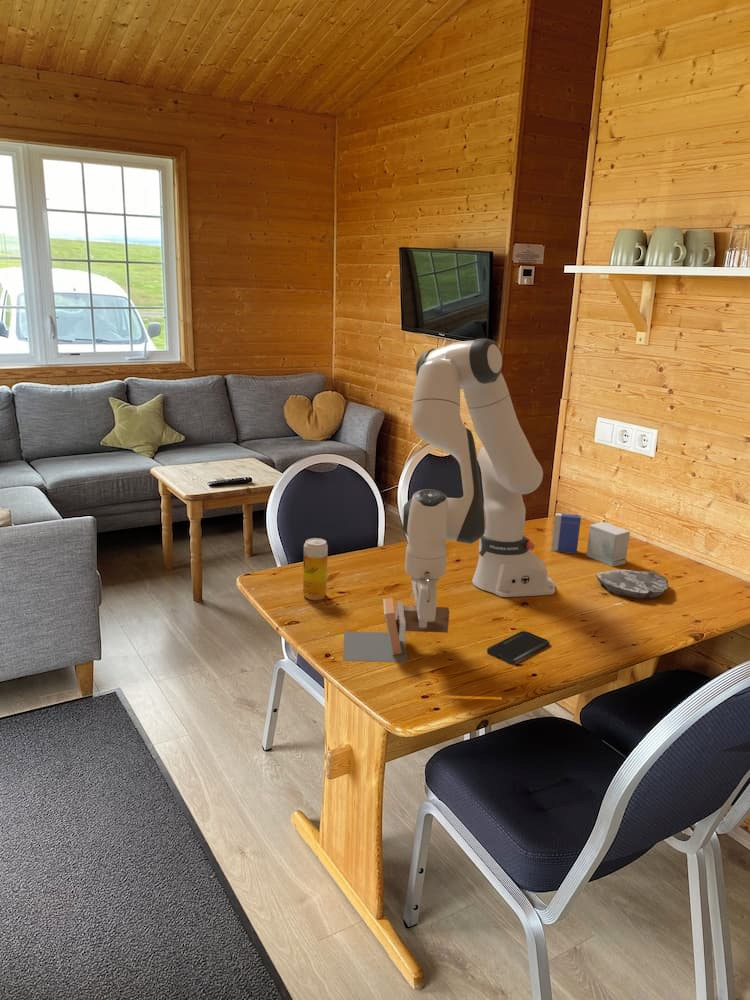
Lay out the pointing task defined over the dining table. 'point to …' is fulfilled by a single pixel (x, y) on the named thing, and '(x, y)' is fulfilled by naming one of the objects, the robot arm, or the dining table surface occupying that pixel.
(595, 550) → the skincare box
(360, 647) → the charcoal mat
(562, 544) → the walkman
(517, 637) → the phone
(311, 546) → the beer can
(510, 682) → the dining table surface
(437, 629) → the walnut scraper
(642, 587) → the grey stone slab
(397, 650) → the terracotta tile
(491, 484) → the robot arm
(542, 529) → the dining table surface
